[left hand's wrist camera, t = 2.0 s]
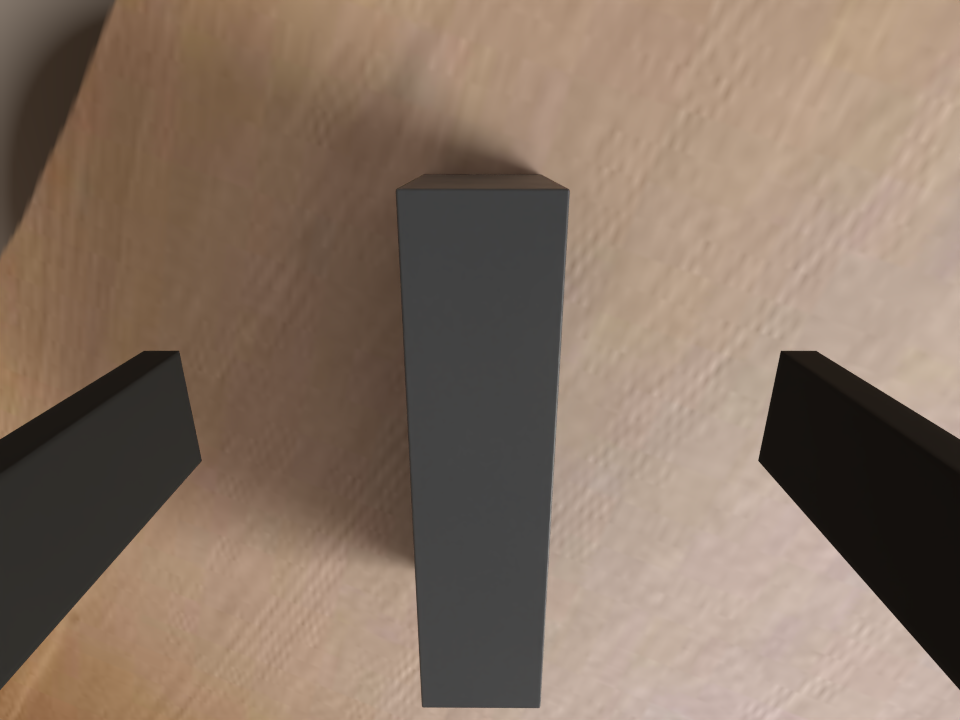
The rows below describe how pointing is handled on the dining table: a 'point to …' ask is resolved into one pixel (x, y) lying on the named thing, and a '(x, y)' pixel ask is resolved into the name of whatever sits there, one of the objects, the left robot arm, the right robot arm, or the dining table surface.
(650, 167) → the dining table surface
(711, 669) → the dining table surface
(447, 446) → the bar
